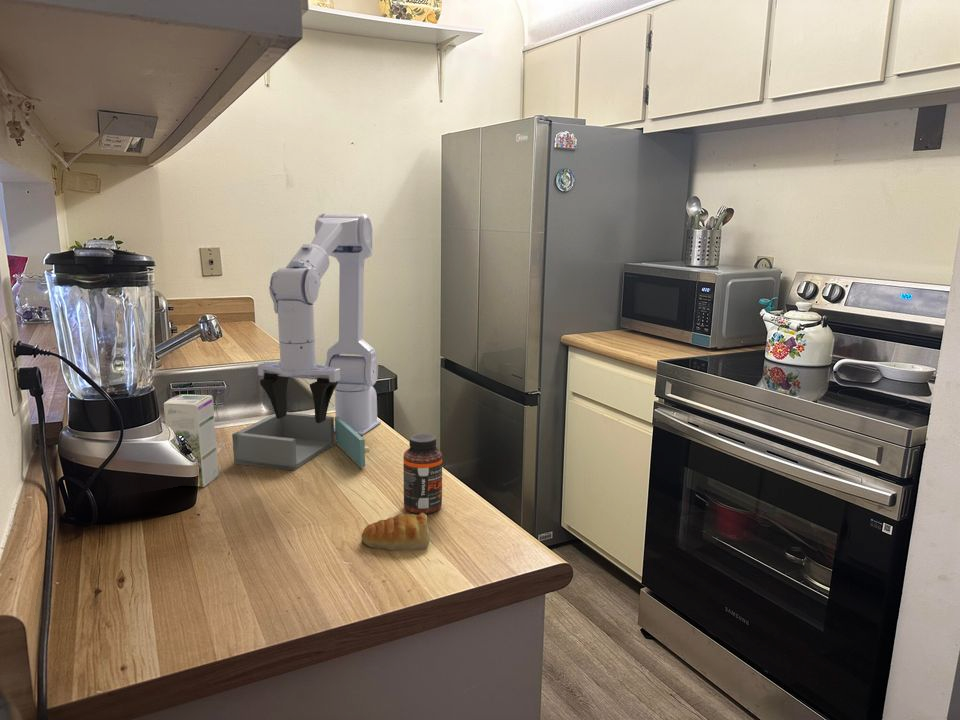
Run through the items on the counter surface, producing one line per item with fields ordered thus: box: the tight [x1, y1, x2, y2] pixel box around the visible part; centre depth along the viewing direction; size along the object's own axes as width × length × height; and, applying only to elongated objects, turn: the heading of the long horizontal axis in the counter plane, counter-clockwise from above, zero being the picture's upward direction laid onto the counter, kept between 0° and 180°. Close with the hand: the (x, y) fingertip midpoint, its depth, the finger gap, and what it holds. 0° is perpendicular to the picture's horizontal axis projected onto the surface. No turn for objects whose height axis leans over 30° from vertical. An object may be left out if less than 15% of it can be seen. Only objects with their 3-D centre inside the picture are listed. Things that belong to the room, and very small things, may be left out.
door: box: [334, 416, 370, 468], centre depth 126 cm, size 15×2×5 cm, turn 29°
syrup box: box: [163, 393, 220, 488], centre depth 112 cm, size 6×6×14 cm
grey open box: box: [231, 411, 336, 472], centre depth 127 cm, size 15×12×6 cm
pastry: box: [361, 513, 430, 551], centre depth 94 cm, size 9×7×4 cm
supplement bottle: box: [402, 433, 443, 515], centre depth 103 cm, size 6×6×11 cm
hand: (301, 419), depth 115 cm, fingers open, 7 cm apart
